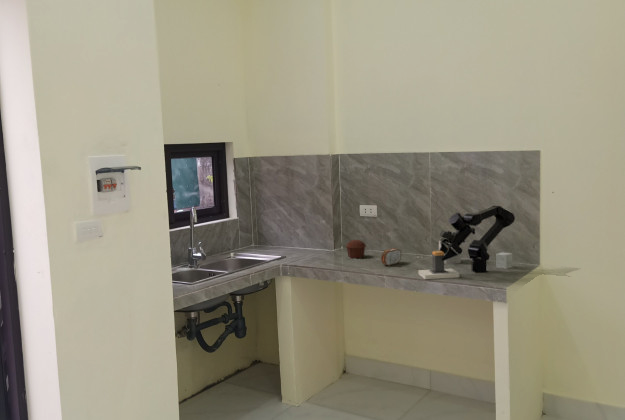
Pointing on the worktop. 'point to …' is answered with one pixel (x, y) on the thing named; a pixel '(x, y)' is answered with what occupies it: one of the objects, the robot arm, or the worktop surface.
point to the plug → (438, 261)
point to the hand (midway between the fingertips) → (439, 258)
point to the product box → (504, 260)
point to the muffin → (356, 249)
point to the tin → (391, 256)
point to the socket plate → (438, 274)
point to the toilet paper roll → (452, 258)
